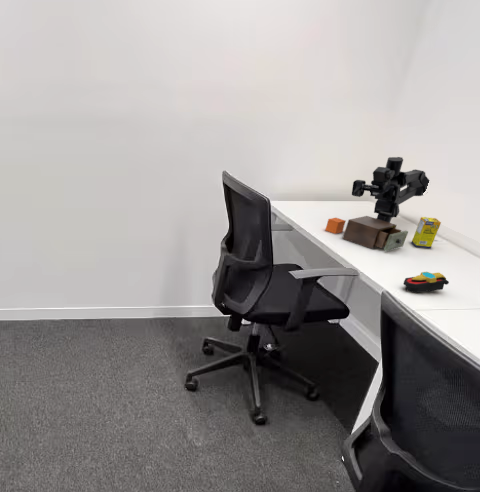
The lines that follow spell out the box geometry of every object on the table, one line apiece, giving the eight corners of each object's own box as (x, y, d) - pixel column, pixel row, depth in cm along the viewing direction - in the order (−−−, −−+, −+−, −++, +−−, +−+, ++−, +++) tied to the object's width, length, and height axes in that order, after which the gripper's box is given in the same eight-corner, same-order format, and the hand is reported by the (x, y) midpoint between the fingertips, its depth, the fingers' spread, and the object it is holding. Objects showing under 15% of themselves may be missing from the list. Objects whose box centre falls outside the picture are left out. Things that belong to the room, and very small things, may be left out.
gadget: (397, 289, 189) (400, 274, 186) (434, 283, 189) (438, 268, 186) (408, 296, 184) (411, 281, 181) (446, 291, 184) (451, 276, 181)
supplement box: (430, 248, 223) (441, 222, 217) (415, 247, 224) (425, 220, 218) (426, 244, 228) (436, 218, 222) (410, 242, 229) (420, 216, 223)
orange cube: (332, 228, 240) (335, 217, 237) (342, 232, 237) (345, 220, 234) (325, 230, 238) (328, 219, 235) (335, 233, 235) (338, 222, 232)
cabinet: (389, 244, 226) (396, 224, 221) (371, 248, 220) (378, 229, 215) (360, 234, 235) (366, 215, 231) (342, 238, 229) (348, 219, 225)
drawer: (405, 247, 220) (411, 232, 217) (389, 252, 215) (395, 236, 211) (374, 237, 230) (379, 222, 226) (358, 241, 224) (363, 226, 221)
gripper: (366, 163, 230) (345, 172, 223) (411, 167, 216) (390, 178, 210) (362, 190, 236) (341, 200, 229) (406, 196, 223) (385, 207, 216)
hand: (364, 195), depth 221 cm, fingers open, 9 cm apart
